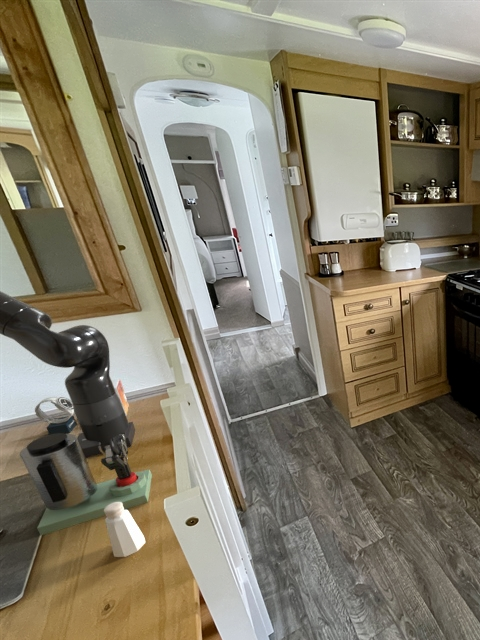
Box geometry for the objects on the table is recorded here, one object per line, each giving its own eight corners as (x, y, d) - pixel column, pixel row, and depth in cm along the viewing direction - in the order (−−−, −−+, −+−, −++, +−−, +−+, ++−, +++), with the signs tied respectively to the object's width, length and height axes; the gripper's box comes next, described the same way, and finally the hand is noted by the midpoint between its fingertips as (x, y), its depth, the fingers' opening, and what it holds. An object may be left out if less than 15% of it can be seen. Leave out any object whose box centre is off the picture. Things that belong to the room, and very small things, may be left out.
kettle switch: (116, 489, 88) (114, 484, 88) (119, 480, 91) (116, 475, 91) (136, 484, 90) (134, 478, 90) (138, 475, 93) (136, 469, 92)
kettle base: (40, 535, 80) (33, 521, 79) (55, 503, 89) (48, 489, 87) (148, 502, 90) (143, 489, 88) (152, 475, 98) (147, 463, 97)
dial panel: (74, 460, 103) (70, 451, 102) (82, 441, 110) (79, 432, 109) (131, 446, 109) (128, 437, 108) (135, 429, 117) (132, 421, 116)
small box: (127, 416, 124) (116, 388, 120) (104, 421, 121) (93, 392, 117) (130, 406, 130) (120, 378, 126) (108, 410, 127) (97, 382, 123)
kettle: (37, 521, 79) (7, 463, 73) (52, 492, 87) (25, 437, 81) (92, 505, 83) (67, 449, 78) (100, 478, 91) (78, 426, 85)
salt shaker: (106, 552, 77) (87, 511, 73) (136, 532, 82) (120, 493, 77) (122, 562, 75) (104, 520, 71) (152, 541, 80) (136, 500, 76)
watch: (78, 431, 115) (65, 400, 111) (42, 438, 112) (27, 405, 108) (85, 422, 120) (72, 391, 116) (50, 428, 116) (36, 397, 112)
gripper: (85, 406, 87) (109, 467, 93) (70, 434, 77) (99, 500, 83) (127, 398, 91) (148, 456, 97) (118, 423, 81) (142, 487, 87)
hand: (125, 476), depth 90 cm, fingers closed
